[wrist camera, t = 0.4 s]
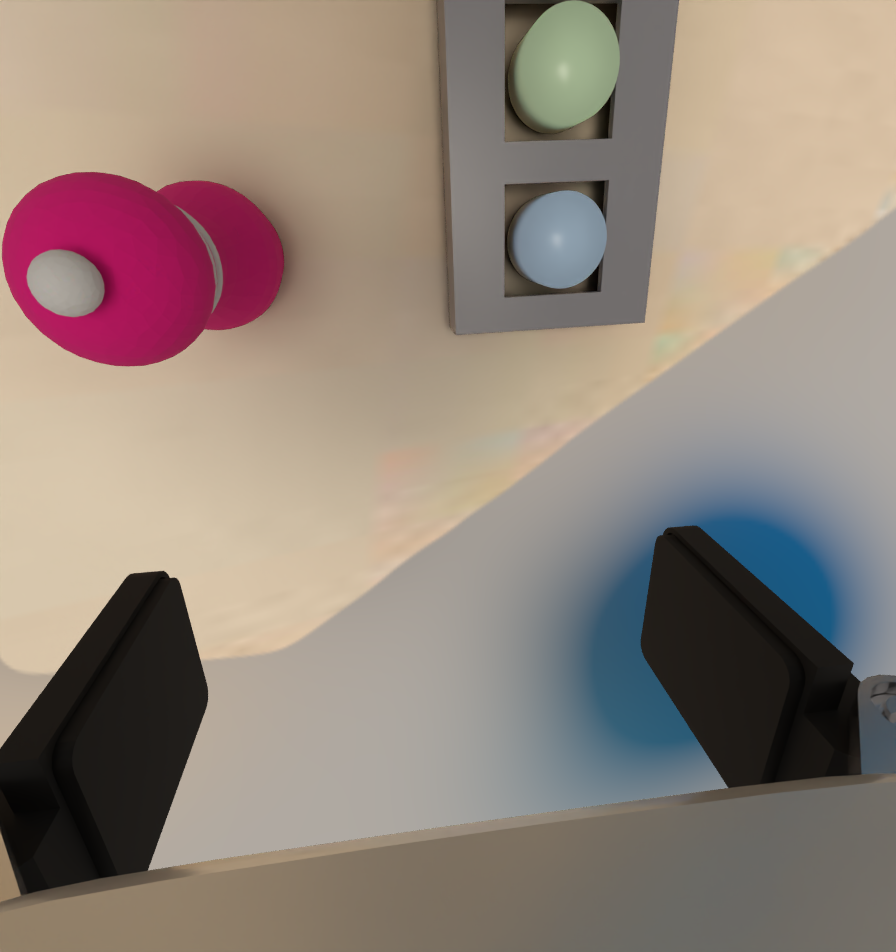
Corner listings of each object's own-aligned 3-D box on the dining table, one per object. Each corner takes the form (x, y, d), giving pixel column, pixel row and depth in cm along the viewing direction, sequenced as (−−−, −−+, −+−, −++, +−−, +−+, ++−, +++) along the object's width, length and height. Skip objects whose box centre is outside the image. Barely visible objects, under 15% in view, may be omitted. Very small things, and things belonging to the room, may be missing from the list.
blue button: (507, 195, 32) (520, 192, 29) (590, 192, 32) (610, 188, 29) (506, 285, 34) (518, 291, 31) (584, 281, 34) (603, 285, 31)
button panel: (426, -254, 25) (433, -313, 22) (675, -244, 26) (710, -299, 23) (449, 327, 36) (455, 334, 33) (624, 315, 37) (644, 322, 34)
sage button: (507, 22, 28) (522, 0, 25) (600, 21, 29) (624, 0, 26) (507, 135, 30) (520, 125, 28) (593, 132, 31) (615, 123, 28)
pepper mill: (305, 215, 32) (218, 195, 14) (277, 333, 34) (173, 446, 16) (176, 165, 30) (-118, 69, 12) (156, 294, 33) (-110, 373, 15)
